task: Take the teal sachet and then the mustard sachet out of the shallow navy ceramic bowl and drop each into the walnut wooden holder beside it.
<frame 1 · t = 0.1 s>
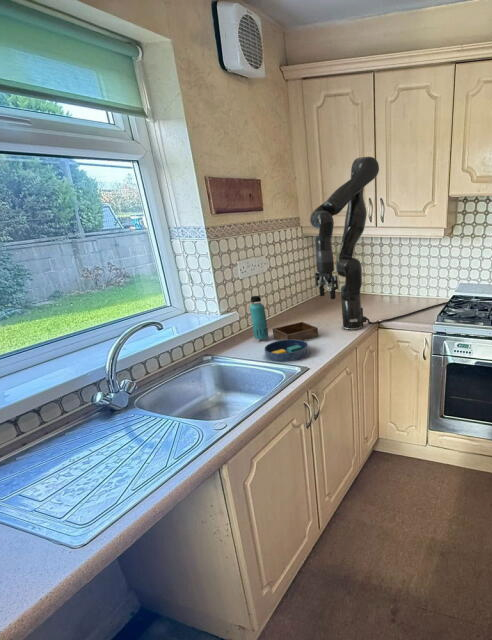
hand: (327, 297, 184), 17 cm above the countertop, tool pointing down, fingers open, 8 cm apart
bowl: (287, 355, 167), on the countertop
holder: (296, 337, 187), on the countertop
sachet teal: (294, 351, 169), resting on bowl
beverage bottle: (262, 340, 184), on the countertop
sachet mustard: (279, 356, 164), resting on bowl
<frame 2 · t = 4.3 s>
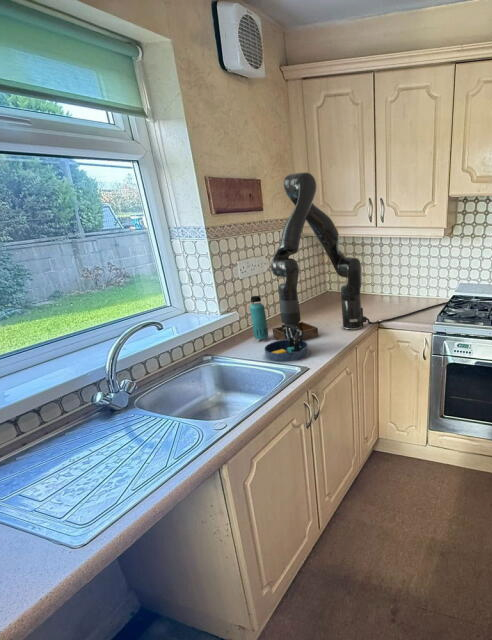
hand: (294, 350, 168), 1 cm above the countertop, tool pointing down, fingers closed on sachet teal, 3 cm apart
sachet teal: (294, 351, 169), resting on bowl, touching gripper
everything else where it was.
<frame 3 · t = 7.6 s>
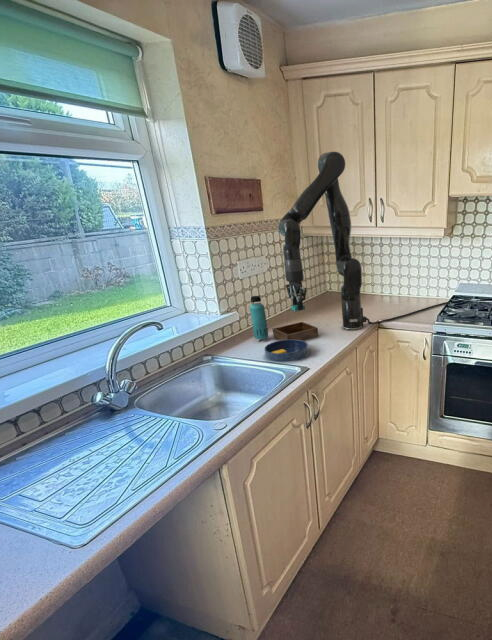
hand: (298, 308, 180), 14 cm above the countertop, tool pointing down, fingers closed on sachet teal, 3 cm apart
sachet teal: (298, 309, 181), point 13 cm above the countertop, touching gripper
everything else where it was.
when the fingers open (1 cm above the countertop, at t = 11.0 s): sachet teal stays where it is, resting on holder.
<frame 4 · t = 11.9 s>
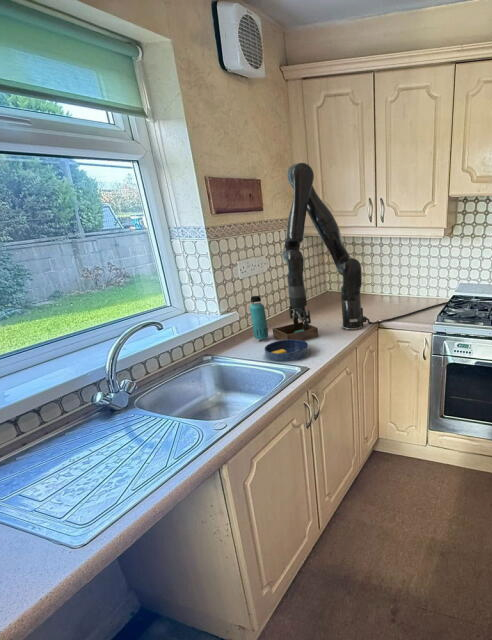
hand: (301, 330, 187), 3 cm above the countertop, tool pointing down, fingers open, 8 cm apart
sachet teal: (301, 335, 188), point 1 cm above the countertop, touching holder
everything else where it was.
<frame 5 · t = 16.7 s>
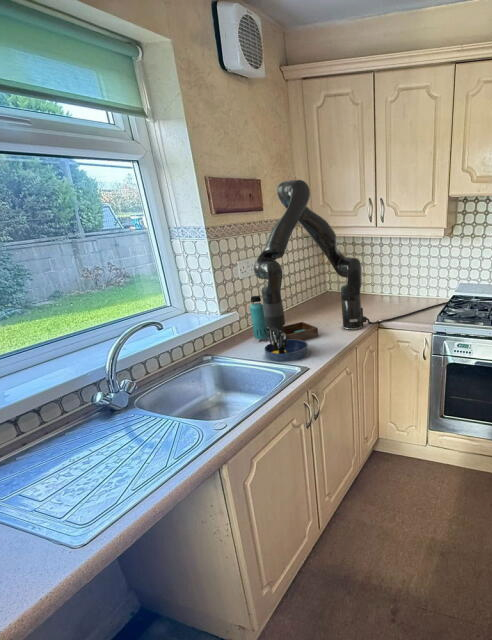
hand: (279, 354, 164), 1 cm above the countertop, tool pointing down, fingers closed on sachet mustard, 3 cm apart
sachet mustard: (279, 356, 164), point 1 cm above the countertop, touching bowl, gripper
everything else where it was.
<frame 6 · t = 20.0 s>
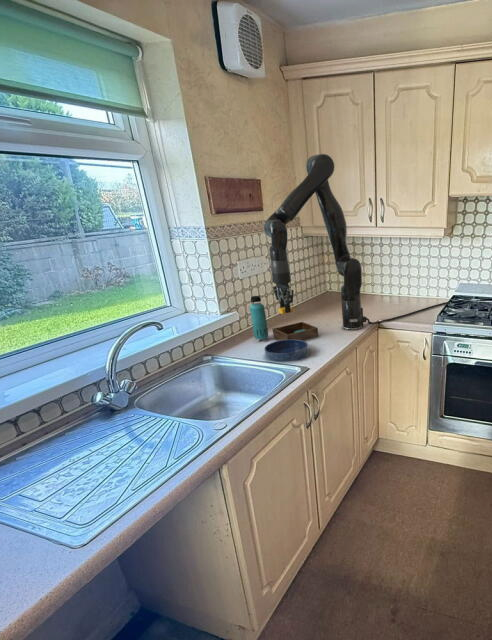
hand: (285, 311, 176), 14 cm above the countertop, tool pointing down, fingers closed on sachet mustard, 3 cm apart
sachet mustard: (285, 312, 176), point 13 cm above the countertop, touching gripper
everything else where it was.
when the fingers open (1 cm above the countertop, at t = 23.6 s): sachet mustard stays where it is, resting on holder.
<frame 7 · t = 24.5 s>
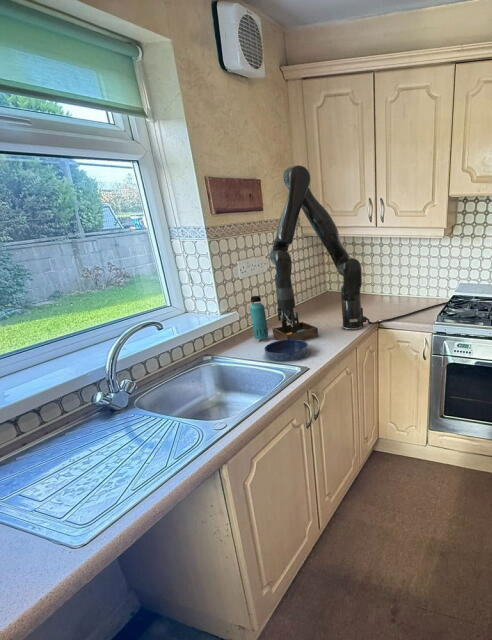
hand: (289, 332, 184), 3 cm above the countertop, tool pointing down, fingers open, 8 cm apart
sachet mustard: (289, 338, 185), point 1 cm above the countertop, touching holder
everything else where it was.
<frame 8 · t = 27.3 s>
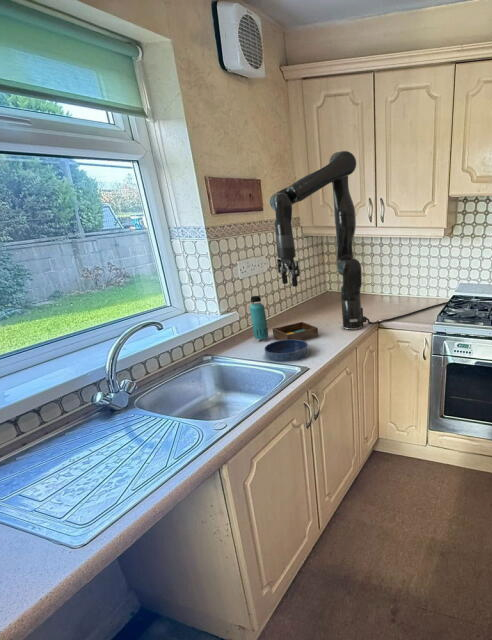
hand: (290, 284, 176), 24 cm above the countertop, tool pointing down, fingers open, 8 cm apart
nothing on the countertop moved.
at the end: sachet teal inside the target area in the holder (2.8 cm from its centre), point 0.6 cm above the holder's base; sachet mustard inside the target area in the holder (3.1 cm from its centre), point 0.6 cm above the holder's base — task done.
